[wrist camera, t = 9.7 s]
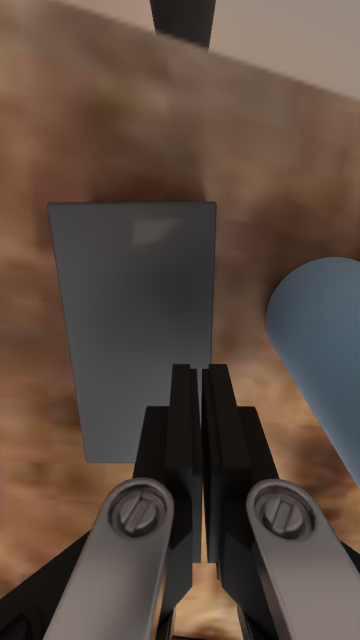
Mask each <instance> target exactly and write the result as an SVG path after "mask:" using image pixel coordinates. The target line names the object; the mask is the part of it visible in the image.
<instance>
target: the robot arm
mask: <svg viewBox="0 0 360 640" xmlns="http://www.w3.org/2000/svg"><path fill="white" fill-rule="evenodd" d="M202 493H204V510H205V527H206V543H207V559H208V563H216V567H217V579H218V580H221V583H222V588H223V589H224V590H225V591H226V592H227V593H228V594H229V595H230V596H231V597H232V598H233V600H234V601H235V602H236V604H237V613H238V617H239V621H240V626H241V630H242V634H243V638H244V640H360V554H359V553H357V552H356V551H355V550H353V549H352V548H350V547H349V546H347V545H346V544H345V543H343V542H342V541H340V540H339V539H338V537H337V535H336V534H335V532H334V530H333V529H332V527H331V525H330V524H329V522H328V520H327V519H326V517H325V515H324V514H323V512H322V510H321V509H320V507H319V505H318V504H317V503H316V501H315V500H314V499H313V498H312V496H311V495H310V494H309V493H307V492H306V491H305V490H304V489H302V488H301V487H299V486H297V485H295V484H294V483H292V482H289V481H285V480H281V479H279V476H278V473H277V470H276V467H275V464H274V461H273V458H272V455H271V452H270V449H269V446H268V443H267V440H266V437H265V434H264V431H263V428H262V425H261V422H260V419H259V416H258V413H257V411H256V408H255V407H251V406H237V404H236V400H235V396H234V392H233V388H232V384H231V380H230V375H229V371H228V367H227V364H209V368H208V369H202V396H201V425H200V410H199V394H198V378H197V369H190V364H173V368H172V380H171V392H170V404H169V406H147V407H146V411H145V416H144V421H143V426H142V431H141V436H140V441H139V447H138V452H137V457H136V462H135V467H134V472H133V477H132V479H130V480H126V481H125V482H123V483H121V484H119V485H117V486H116V487H115V488H114V489H113V490H112V491H111V492H110V493H109V494H108V496H107V497H106V499H105V500H104V502H103V504H102V506H101V508H100V511H99V513H98V515H97V518H96V520H95V522H94V524H93V527H92V529H91V530H90V531H89V532H87V533H86V534H85V535H83V536H82V537H81V538H80V539H78V540H77V541H76V542H74V543H73V544H72V545H70V546H69V547H68V548H67V549H65V550H64V551H63V552H61V553H60V554H59V555H58V556H56V557H55V558H54V559H52V560H51V561H50V562H48V563H47V564H46V565H45V566H43V567H42V568H41V569H39V570H38V571H37V572H35V573H34V574H33V575H32V576H30V577H29V578H28V579H26V580H25V581H24V582H22V583H21V584H20V585H19V586H17V587H16V588H15V589H13V590H12V591H11V592H9V593H8V594H7V595H6V596H4V597H3V598H2V599H0V640H172V637H173V630H174V623H175V616H176V605H177V604H178V603H179V601H180V600H181V599H182V598H183V597H184V596H185V594H186V593H187V592H188V591H189V590H190V588H191V587H192V563H201V532H202Z"/></svg>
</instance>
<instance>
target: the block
mask: <svg viewBox="0 0 360 640" xmlns="http://www.w3.org/2000/svg"><path fill="white" fill-rule="evenodd" d="M47 208H48V215H49V221H50V228H51V235H52V241H53V248H54V254H55V261H56V267H57V274H58V280H59V287H60V293H61V300H62V307H63V313H64V320H65V326H66V333H67V339H68V346H69V352H70V359H71V365H72V372H73V379H74V385H75V392H76V398H77V405H78V411H79V418H80V424H81V431H82V437H83V444H84V451H85V457H86V462H87V463H135V462H136V457H137V452H138V447H139V441H140V436H141V431H142V426H143V421H144V416H145V411H146V407H147V406H169V404H170V392H171V380H172V368H173V364H190V369H197V378H198V394H199V410H200V425H201V396H202V369H208V368H209V364H211V351H212V323H213V295H214V267H215V239H216V210H217V204H216V202H62V203H48V204H47Z"/></svg>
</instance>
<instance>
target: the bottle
mask: <svg viewBox="0 0 360 640" xmlns="http://www.w3.org/2000/svg"><path fill="white" fill-rule="evenodd" d="M265 322H266V330H267V334H268V337H269V339H270V342H271V343H272V345H273V347H274V348H275V350H276V352H277V353H278V355H279V357H280V358H281V360H282V362H283V363H284V365H285V367H286V368H287V370H288V372H289V373H290V375H291V377H292V378H293V380H294V382H295V383H296V385H297V387H298V388H299V390H300V392H301V393H302V395H303V397H304V398H305V400H306V401H307V403H308V405H309V406H310V408H311V410H312V411H313V413H314V415H315V416H316V418H317V420H318V421H319V423H320V425H321V426H322V428H323V430H324V431H325V433H326V435H327V436H328V438H329V440H330V441H331V443H332V445H333V446H334V448H335V450H336V451H337V453H338V455H339V456H340V458H341V460H342V461H343V463H344V465H345V466H346V468H347V470H348V471H349V473H350V475H351V476H352V478H353V480H354V481H355V483H356V485H357V486H358V488H359V490H360V262H359V261H356V260H353V259H349V258H345V257H325V258H319V259H316V260H313V261H310V262H308V263H305V264H303V265H301V266H300V267H298V268H296V269H295V270H294V271H292V272H291V273H290V274H288V275H287V276H286V277H285V278H284V279H283V280H282V281H281V282H280V284H279V285H278V286H277V288H276V289H275V291H274V292H273V294H272V296H271V298H270V300H269V303H268V306H267V311H266V320H265Z"/></svg>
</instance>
